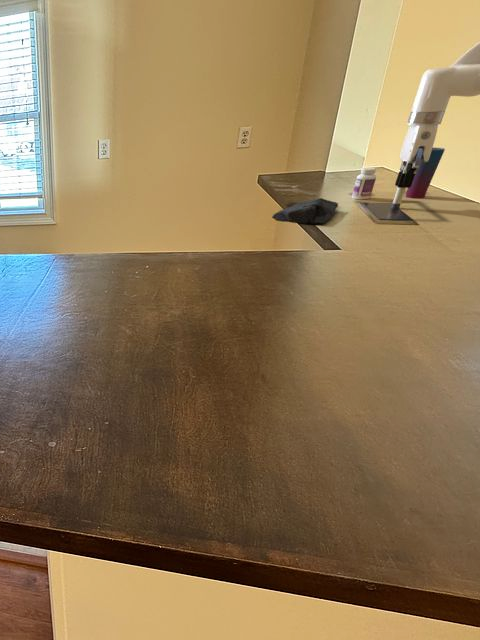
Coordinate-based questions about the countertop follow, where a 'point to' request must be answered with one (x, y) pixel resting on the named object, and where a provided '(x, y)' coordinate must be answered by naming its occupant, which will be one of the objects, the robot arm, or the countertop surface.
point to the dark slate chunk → (308, 212)
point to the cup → (425, 174)
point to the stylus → (398, 197)
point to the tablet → (385, 213)
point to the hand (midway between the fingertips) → (402, 186)
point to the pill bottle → (364, 184)
